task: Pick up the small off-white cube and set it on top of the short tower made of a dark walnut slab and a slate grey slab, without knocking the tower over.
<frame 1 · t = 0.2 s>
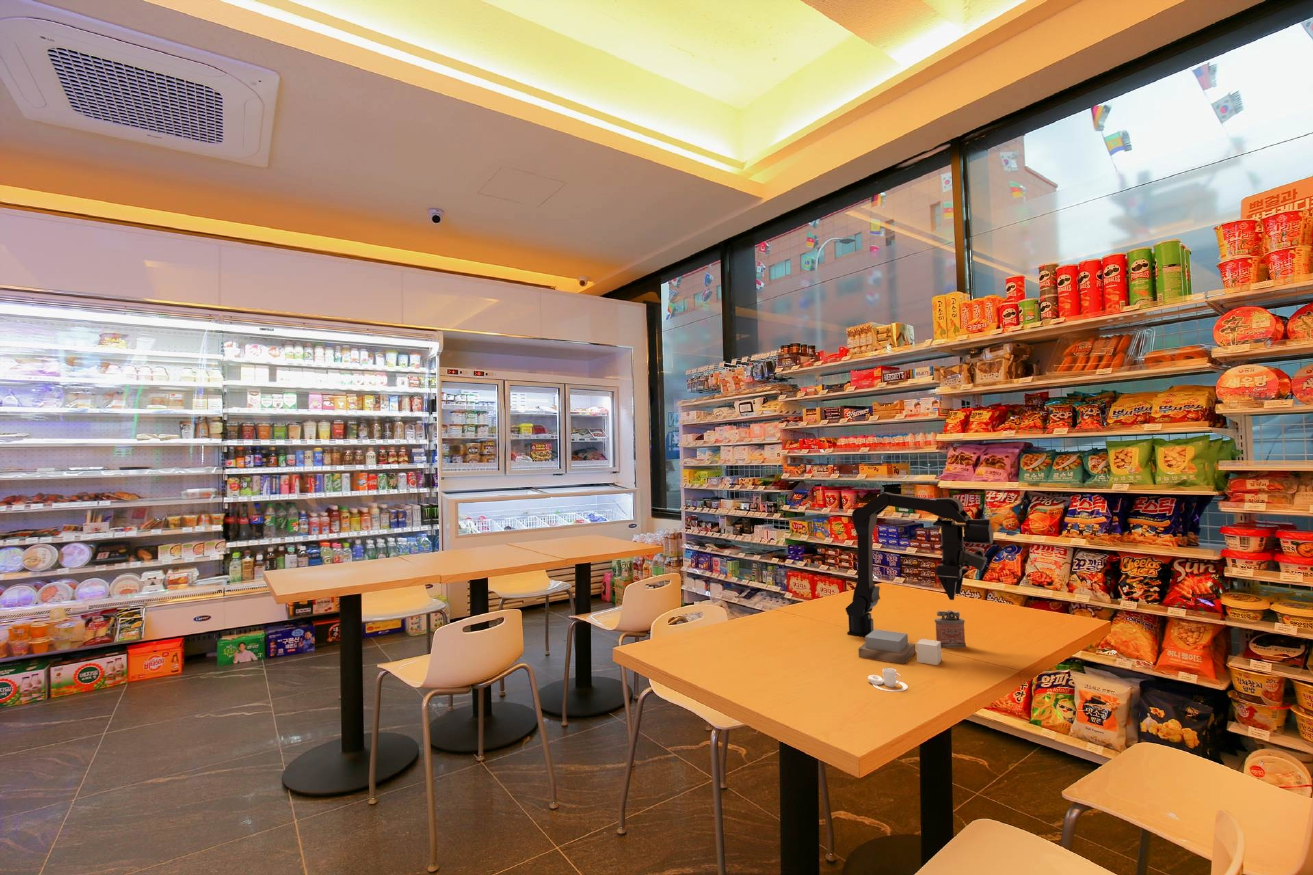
hand: (955, 596, 175), 14 cm above the table, tool pointing down, fingers open, 9 cm apart
cube: (929, 661, 164), on the table
lighter: (950, 646, 177), on the table
teacup and saucer: (887, 683, 150), on the table
base block: (887, 656, 171), on the table, touching top block
top block: (886, 646, 171), point 2 cm above the table, touching base block
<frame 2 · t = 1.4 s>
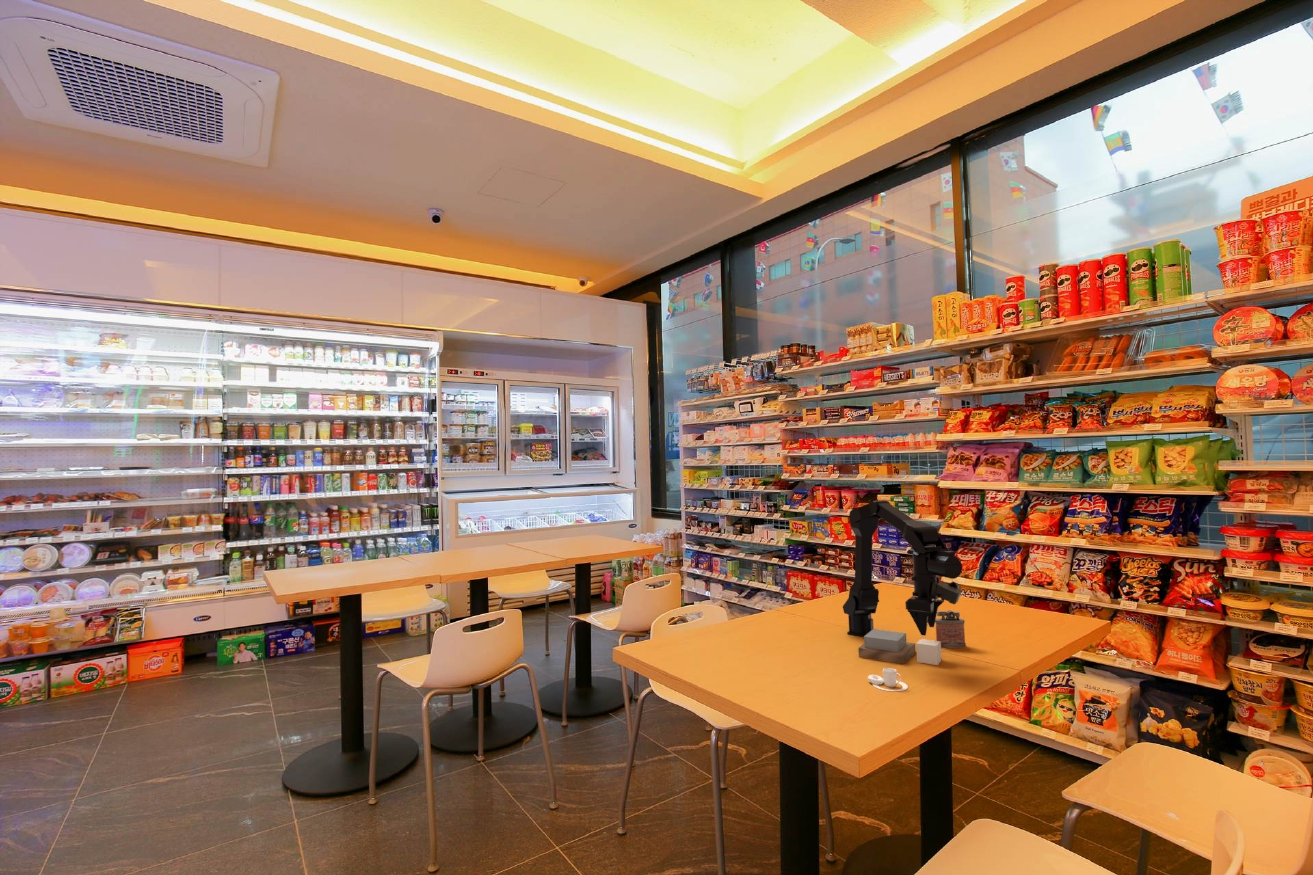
hand: (927, 631, 165), 8 cm above the table, tool pointing down, fingers open, 9 cm apart
nothing on the table moved.
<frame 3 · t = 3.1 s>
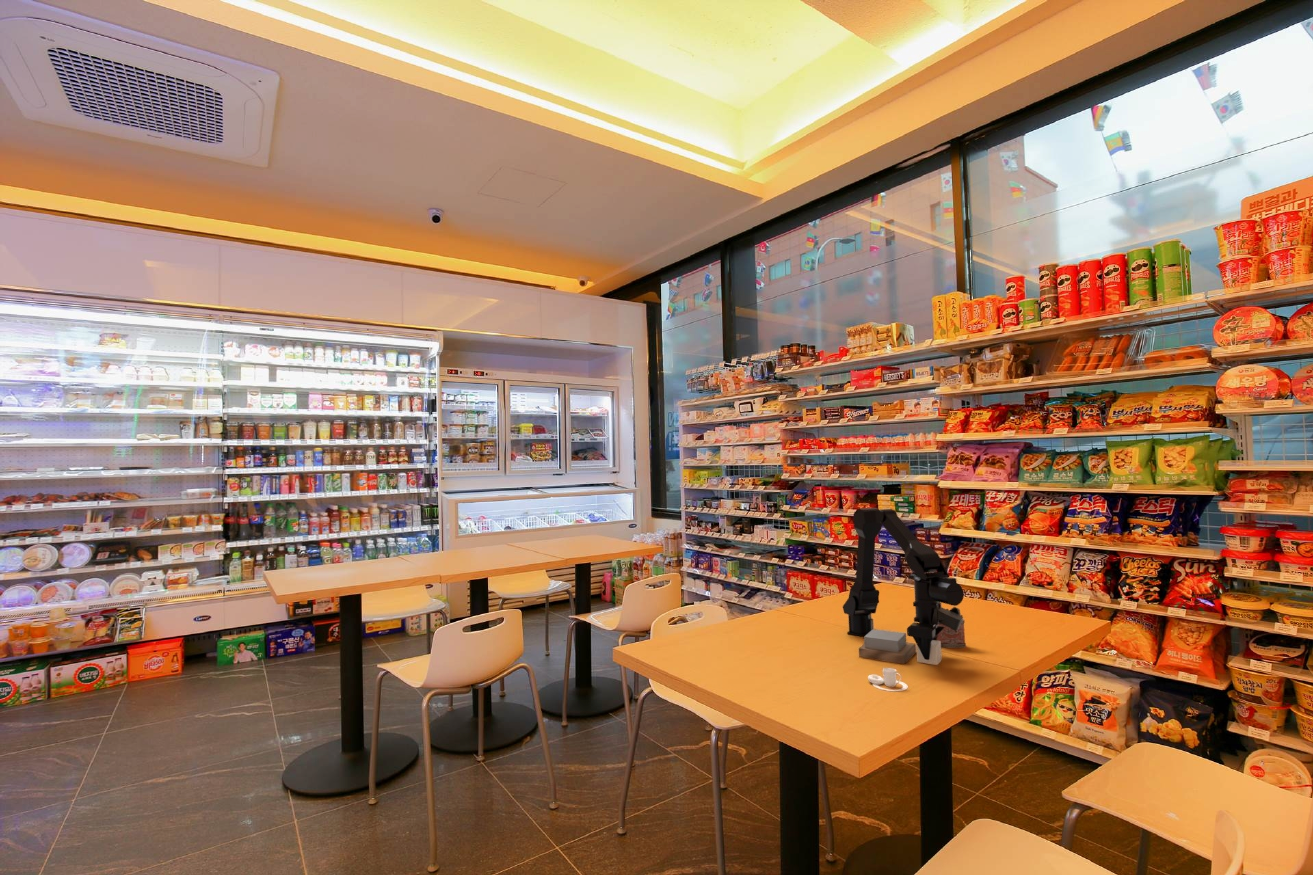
hand: (929, 656, 164), 1 cm above the table, tool pointing down, fingers closed on cube, 5 cm apart
cube: (929, 660, 164), on the table, touching gripper
everything else where it was.
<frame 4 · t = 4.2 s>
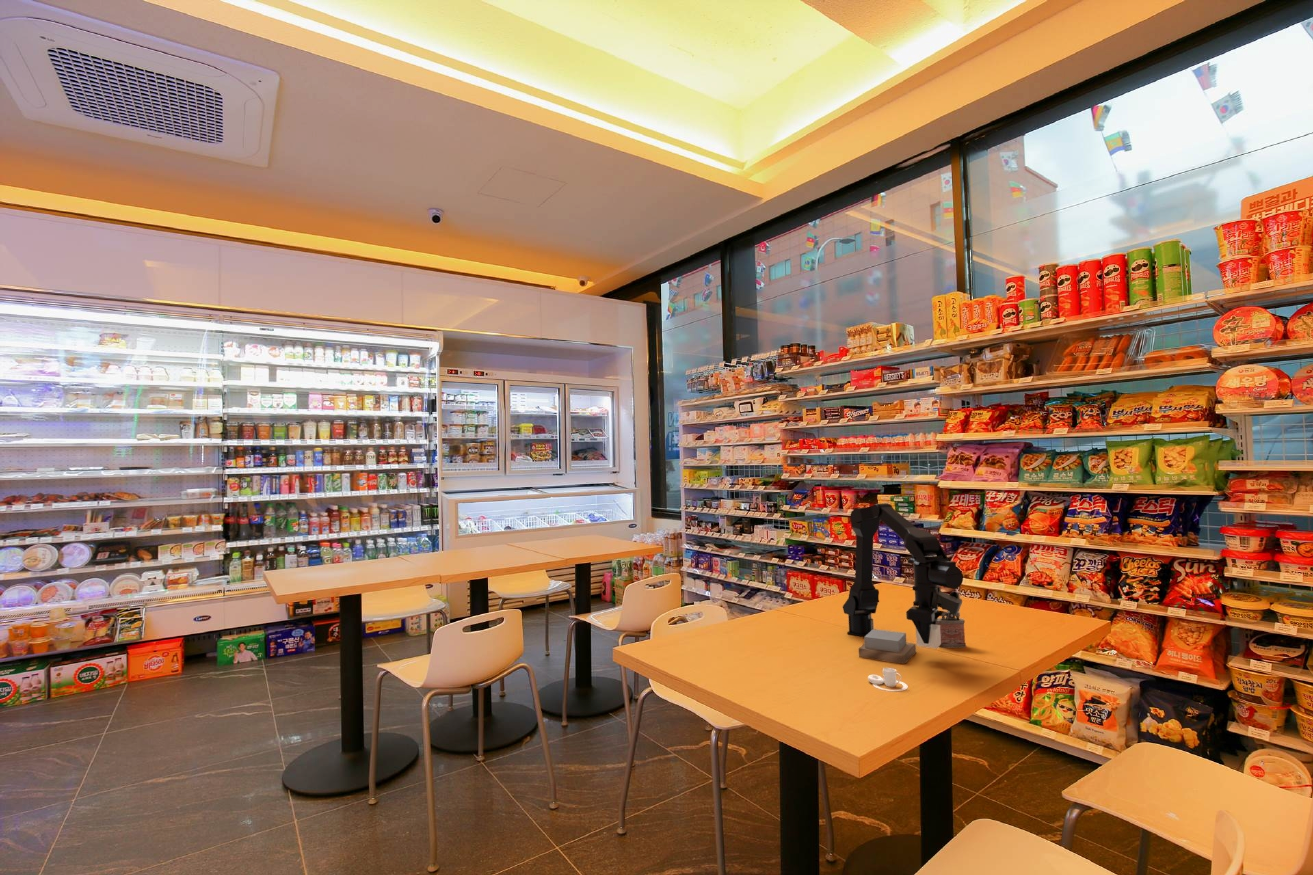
hand: (928, 640, 164), 5 cm above the table, tool pointing down, fingers closed on cube, 5 cm apart
cube: (928, 644, 164), point 4 cm above the table, touching gripper
everything else where it was.
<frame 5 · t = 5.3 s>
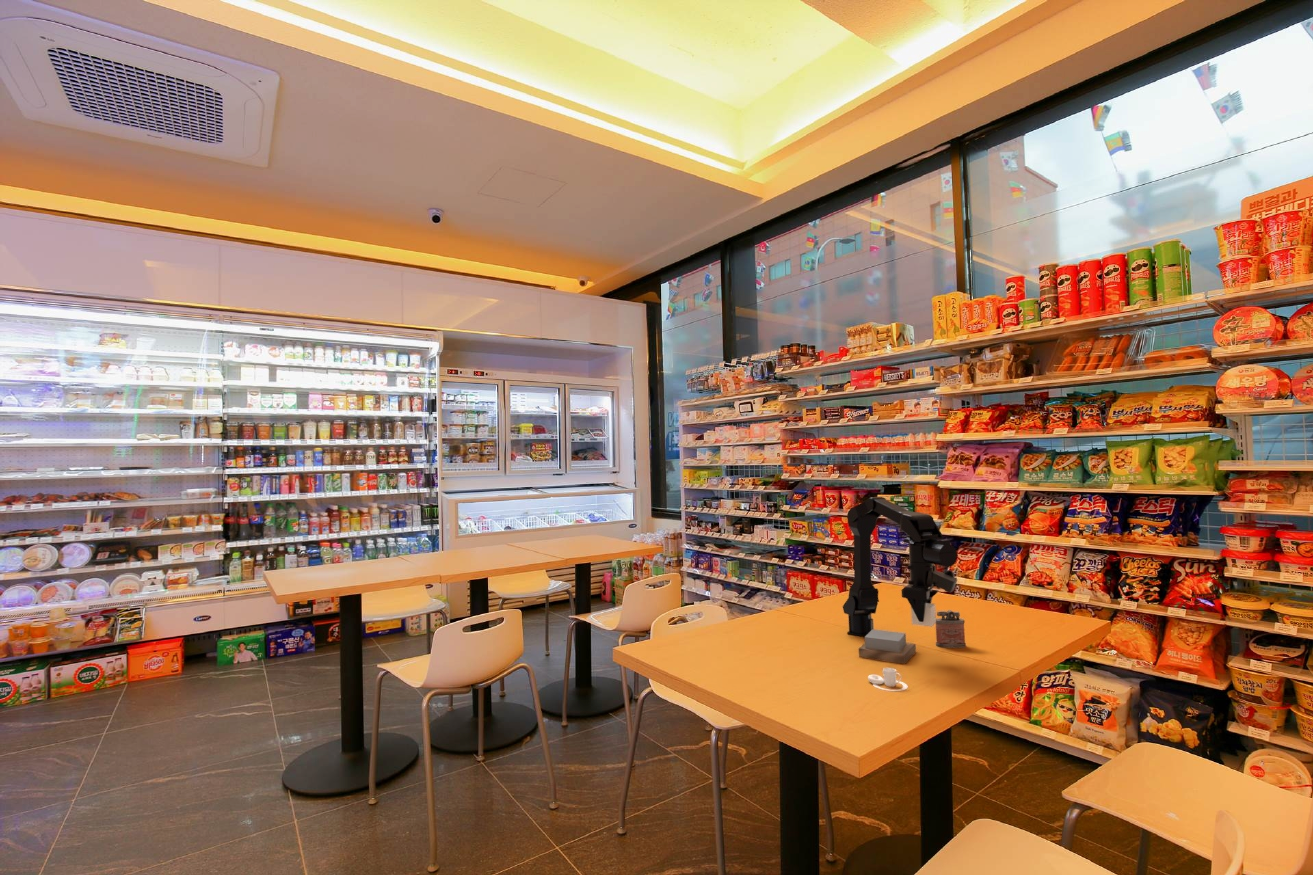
hand: (923, 619, 165), 11 cm above the table, tool pointing down, fingers closed on cube, 5 cm apart
cube: (923, 623, 165), point 10 cm above the table, touching gripper
everything else where it was.
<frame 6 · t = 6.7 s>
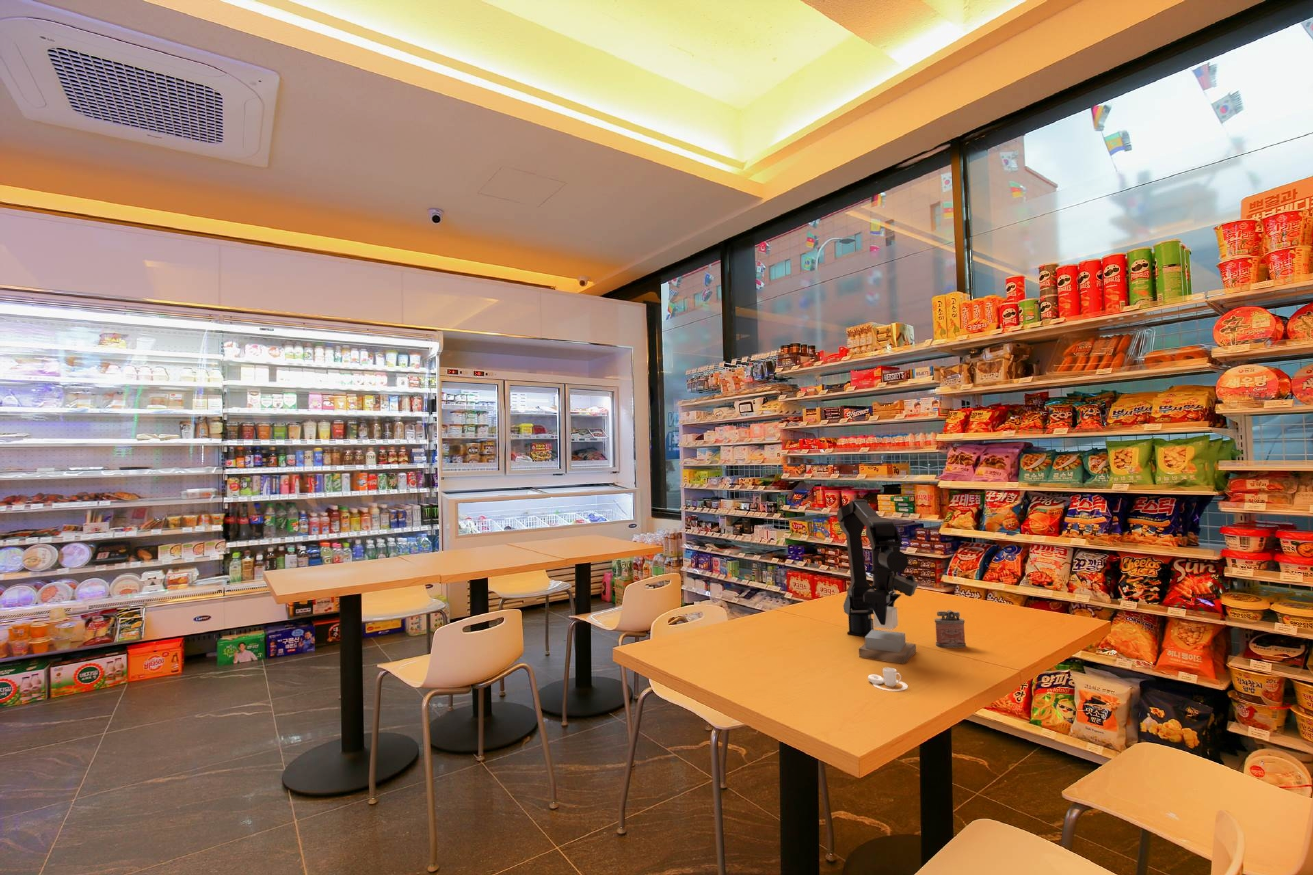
hand: (885, 622, 171), 9 cm above the table, tool pointing down, fingers closed on cube, 5 cm apart
cube: (886, 626, 171), point 8 cm above the table, touching gripper
base block: (887, 657, 171), on the table
top block: (885, 645, 171), point 2 cm above the table
everything else where it was.
when the fingers open (8 cm above the table, at t = 8.0 s): cube drops 2 cm, resting on top block.
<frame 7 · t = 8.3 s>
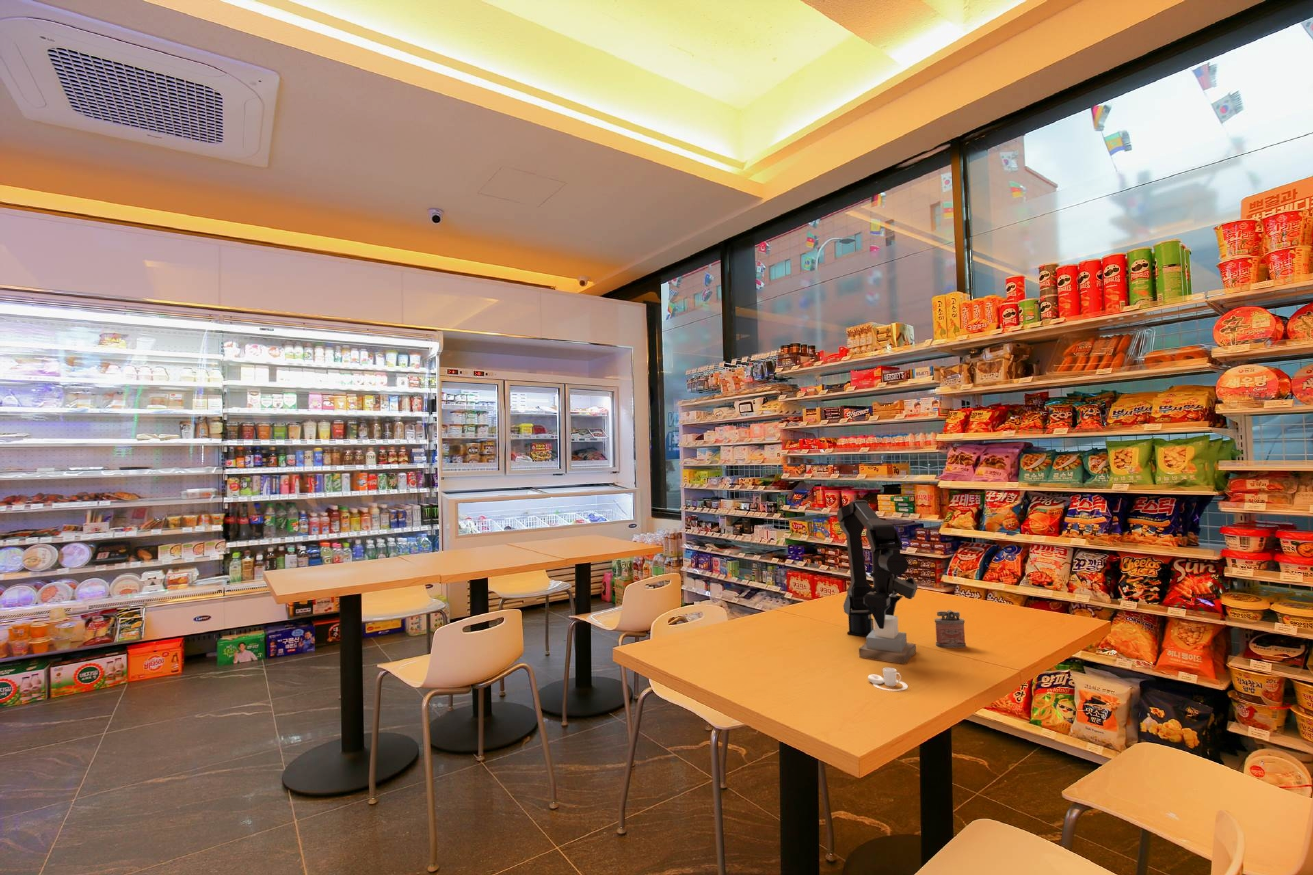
hand: (885, 625, 171), 8 cm above the table, tool pointing down, fingers open, 8 cm apart
cube: (886, 635, 171), point 5 cm above the table, touching top block
base block: (888, 657, 171), on the table, touching top block
top block: (886, 645, 171), point 2 cm above the table, touching base block, cube
everything else where it was.
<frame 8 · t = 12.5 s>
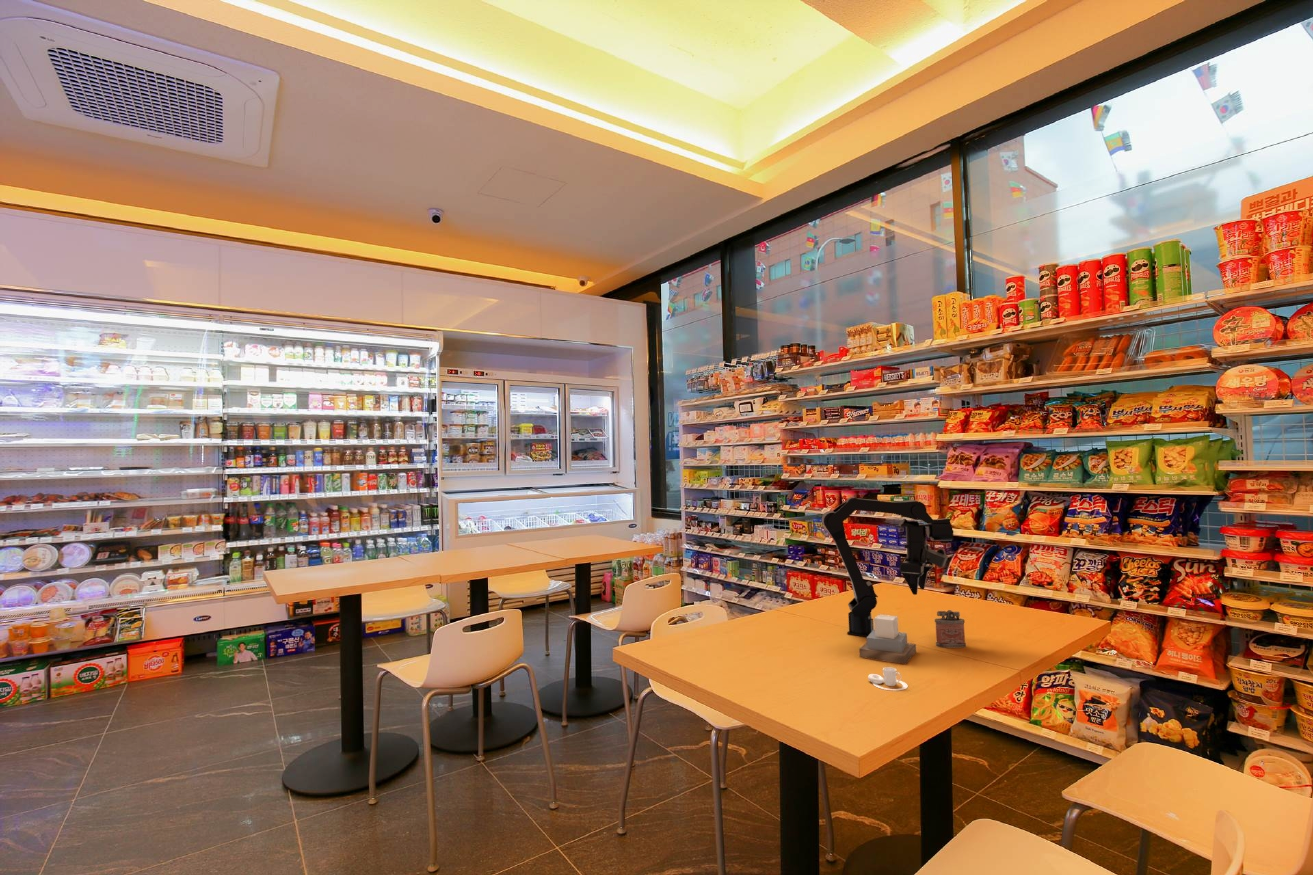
hand: (918, 591, 190), 13 cm above the table, tool pointing down, fingers open, 9 cm apart
nothing on the table moved.
at the end: cube 0.1 cm off-centre on the top block, point 3.0 cm above the top block's base; cube tilted 0°; top block moved 0.8 cm from its start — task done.
